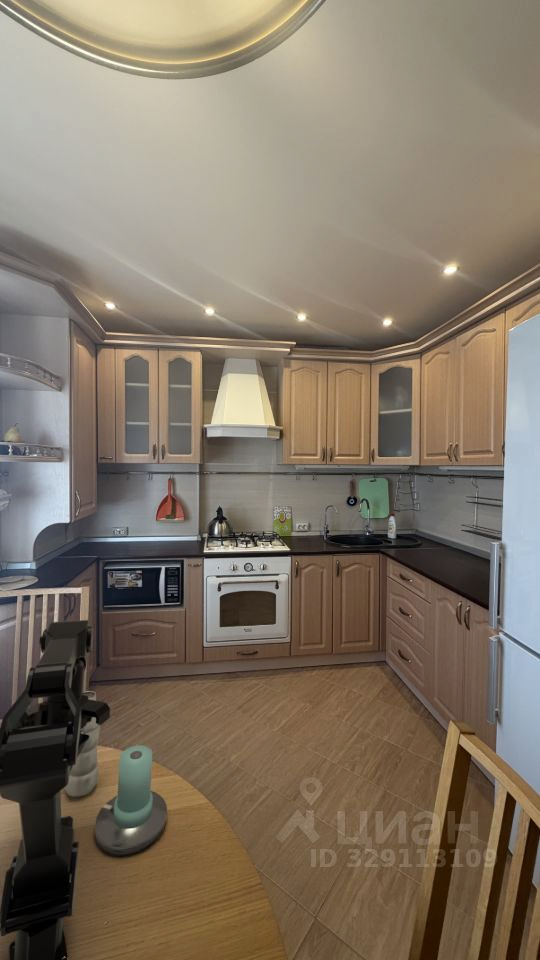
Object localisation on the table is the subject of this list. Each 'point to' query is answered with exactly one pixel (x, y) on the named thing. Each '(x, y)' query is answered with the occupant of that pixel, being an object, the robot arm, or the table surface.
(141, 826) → the turntable
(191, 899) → the table surface
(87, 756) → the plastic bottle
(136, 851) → the base
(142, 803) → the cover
